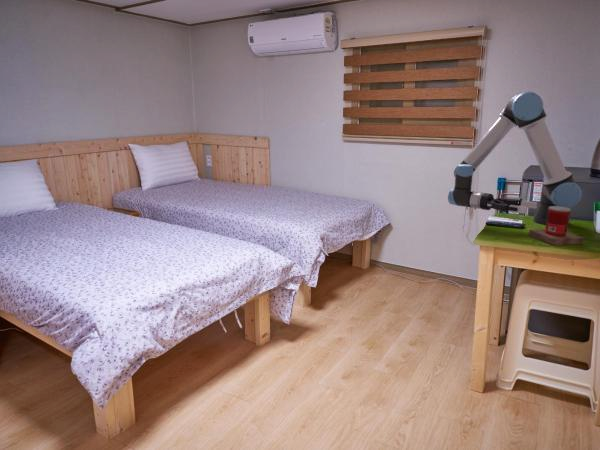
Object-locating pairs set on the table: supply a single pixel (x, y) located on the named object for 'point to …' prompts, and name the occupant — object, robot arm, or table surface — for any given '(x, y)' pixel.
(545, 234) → the walnut base
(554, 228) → the canned food
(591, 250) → the table surface
